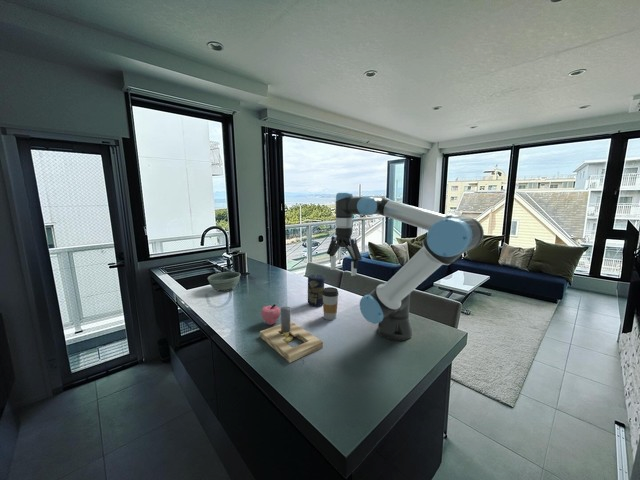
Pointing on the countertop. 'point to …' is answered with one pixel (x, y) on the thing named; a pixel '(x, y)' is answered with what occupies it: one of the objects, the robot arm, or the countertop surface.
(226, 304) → the countertop surface
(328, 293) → the coffee cup
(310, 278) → the canister
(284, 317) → the peg
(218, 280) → the bowl
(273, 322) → the apple
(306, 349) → the keyhole board
